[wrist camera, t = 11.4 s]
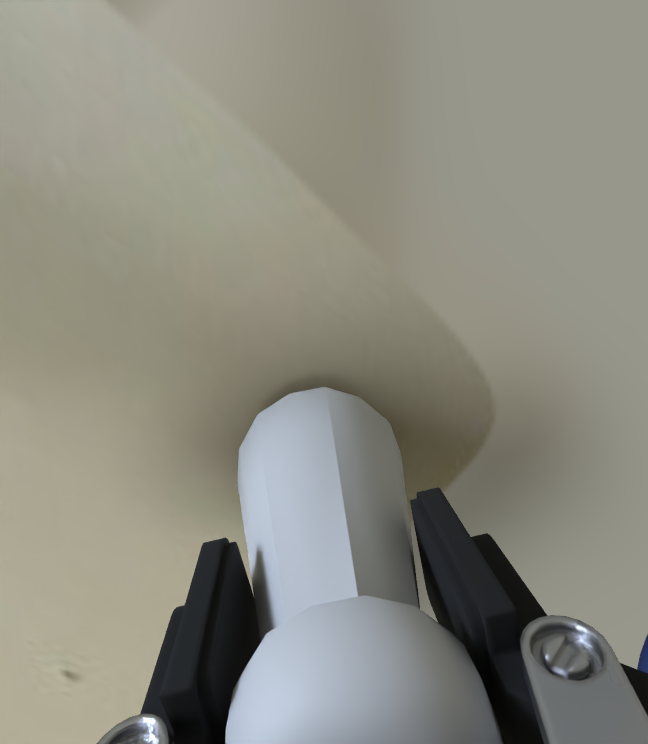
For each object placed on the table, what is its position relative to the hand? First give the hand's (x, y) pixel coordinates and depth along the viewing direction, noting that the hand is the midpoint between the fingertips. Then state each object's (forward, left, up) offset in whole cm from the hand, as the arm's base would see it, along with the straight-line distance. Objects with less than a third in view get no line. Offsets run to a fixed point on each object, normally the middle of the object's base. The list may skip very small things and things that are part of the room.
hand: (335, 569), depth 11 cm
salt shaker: (0, 0, -8) cm, 8 cm away
